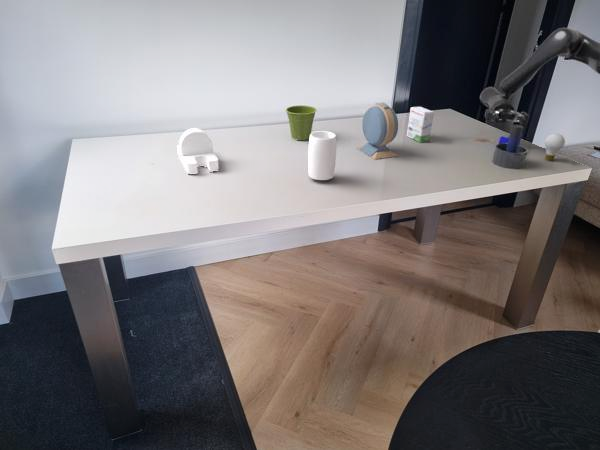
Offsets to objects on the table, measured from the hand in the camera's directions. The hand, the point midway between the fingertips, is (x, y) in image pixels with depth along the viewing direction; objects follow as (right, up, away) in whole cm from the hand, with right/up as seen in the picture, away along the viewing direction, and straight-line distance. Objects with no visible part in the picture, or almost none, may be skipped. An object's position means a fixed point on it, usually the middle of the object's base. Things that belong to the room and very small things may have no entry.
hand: (510, 121), depth 150 cm
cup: (-67, -22, -15) cm, 72 cm away
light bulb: (+14, -14, +2) cm, 20 cm away
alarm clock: (-46, -10, +7) cm, 47 cm away
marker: (-2, -15, -2) cm, 15 cm away
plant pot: (-73, -2, +18) cm, 76 cm away
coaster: (-2, -4, +18) cm, 19 cm away
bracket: (-108, -16, -6) cm, 109 cm away
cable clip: (+4, -8, +11) cm, 14 cm away
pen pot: (-2, -15, -2) cm, 16 cm away
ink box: (-27, -2, +20) cm, 34 cm away
